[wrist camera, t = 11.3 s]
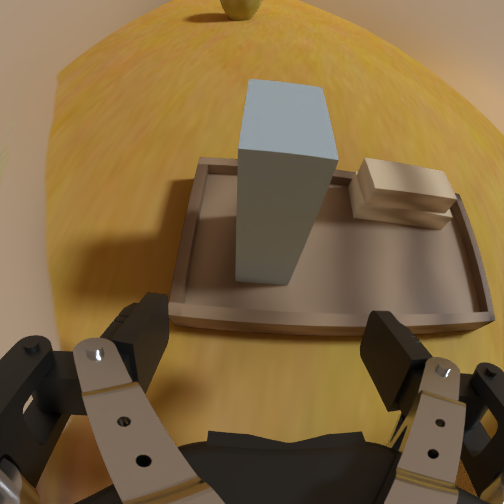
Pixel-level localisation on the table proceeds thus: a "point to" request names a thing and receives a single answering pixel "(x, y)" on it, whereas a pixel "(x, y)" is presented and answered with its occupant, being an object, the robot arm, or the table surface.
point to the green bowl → (240, 8)
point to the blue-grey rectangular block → (280, 177)
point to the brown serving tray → (327, 269)
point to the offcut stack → (401, 194)
